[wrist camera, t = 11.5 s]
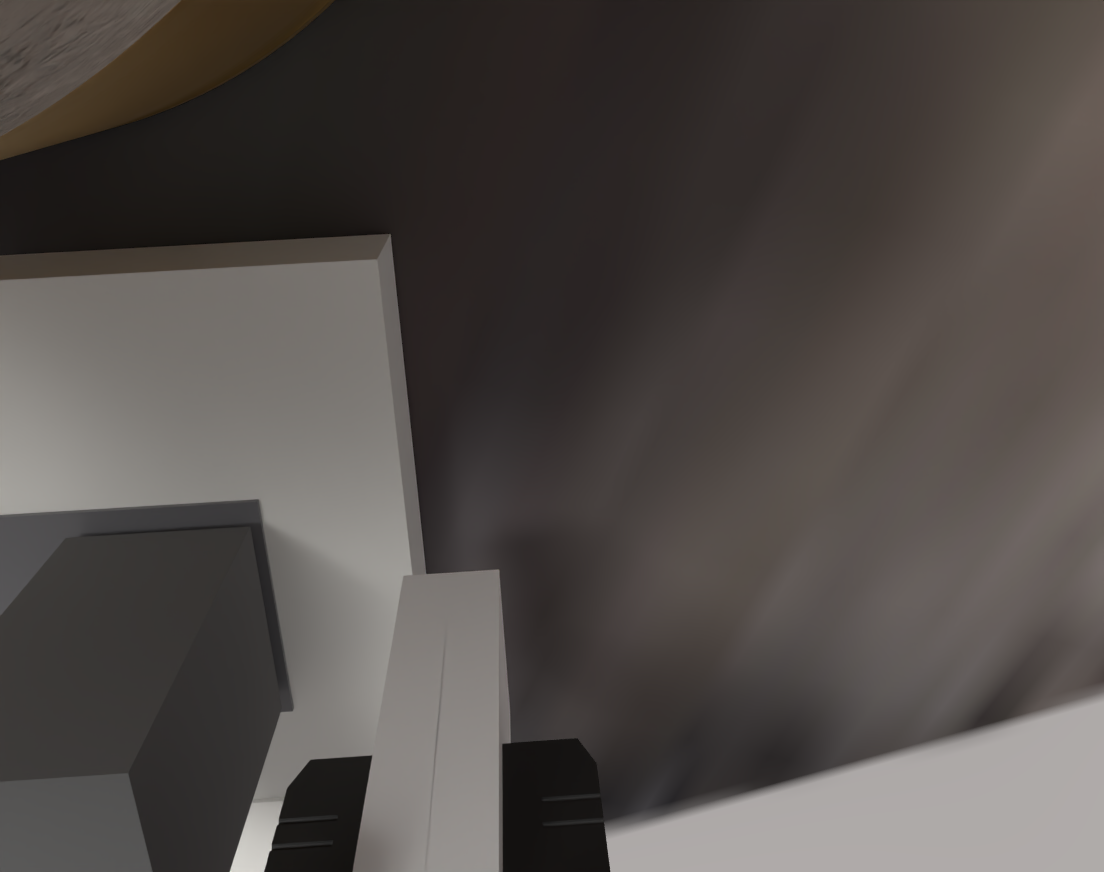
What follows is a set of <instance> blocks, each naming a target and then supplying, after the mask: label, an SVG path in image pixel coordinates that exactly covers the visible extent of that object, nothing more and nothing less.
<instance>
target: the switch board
mask: <svg viewBox="0 0 1104 872" xmlns="http://www.w3.org/2000/svg"><path fill="white" fill-rule="evenodd" d="M235 527H250V528H251V534H252V539H253V545H254V551H255V556H256V562H257V568H258V574H259V579H260V585H261V591H262V597H263V602H264V608H265V614H266V619H267V625H268V631H269V637H270V642H271V648H272V654H273V660H274V665H275V671H276V677H277V682H278V688H279V694H280V700H281V705H282V710H281V713H280V716H279V719H278V722H277V725H276V729H275V732H274V735H273V738H272V741H271V744H270V747H269V750H268V754H267V757H266V760H265V763H264V766H263V769H262V772H261V775H260V779H259V782H258V785H257V788H256V791H255V794H254V797H253V800H252V804H251V807H250V810H249V813H248V816H247V819H246V822H245V825H244V829H243V832H242V835H241V838H240V841H239V844H238V847H237V851H236V854H235V857H234V860H233V863H232V866H231V869H230V872H264V870H265V867H266V863H267V859H268V856H269V852H270V851H271V850H272V841H273V837H274V834H275V830H276V827H277V825H279V816H280V812H281V808H282V805H283V801H284V797H285V794H286V790H287V787H288V786H289V785H290V784H291V783H292V781H293V780H294V779H295V778H296V777H297V775H298V774H299V773H300V772H301V770H302V769H303V768H304V767H305V766H306V764H307V763H308V762H309V761H310V760H313V759H327V758H341V757H355V756H370V755H373V750H374V744H375V738H376V732H377V726H378V720H379V715H380V709H381V703H382V697H383V691H384V686H385V680H386V674H387V668H388V662H389V656H390V651H391V645H392V639H393V633H394V627H395V622H396V616H397V610H398V604H399V598H400V592H401V587H402V581H403V576H407V575H423V574H426V566H425V557H424V547H423V538H422V528H421V519H420V509H419V500H418V490H417V481H416V471H415V462H414V452H413V443H412V433H411V424H410V414H409V405H408V396H407V386H406V377H405V367H404V358H403V348H402V339H401V329H400V320H399V310H398V301H397V291H396V282H395V272H394V263H393V253H392V244H391V234H379V235H361V236H343V237H325V238H307V239H289V240H271V241H253V242H235V243H217V244H199V245H181V246H162V247H144V248H126V249H108V250H90V251H72V252H54V253H36V254H18V255H0V616H1V614H2V613H3V612H4V611H5V610H6V609H7V607H8V606H9V605H10V604H11V603H12V601H13V600H14V599H15V598H16V597H17V595H18V594H19V593H20V592H21V591H22V589H23V588H24V587H25V586H26V585H27V583H28V582H29V581H30V580H31V579H32V578H33V576H34V575H35V574H36V573H37V572H38V570H39V569H40V568H41V567H42V566H43V564H44V563H45V562H46V561H47V560H48V558H49V557H50V556H51V555H52V554H53V552H54V551H55V550H56V549H57V548H58V546H59V545H60V544H61V543H62V542H63V541H64V539H65V538H72V537H88V536H104V535H121V534H137V533H153V532H170V531H186V530H202V529H218V528H235Z"/></svg>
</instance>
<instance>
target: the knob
mask: <svg viewBox="0 0 1104 872" xmlns="http://www.w3.org/2000/svg"><path fill="white" fill-rule="evenodd" d="M281 710H282V705H281V700H280V694H279V688H278V682H277V677H276V671H275V665H274V660H273V654H272V648H271V642H270V637H269V631H268V625H267V619H266V614H265V608H264V602H263V597H262V591H261V585H260V579H259V574H258V568H257V562H256V556H255V551H254V545H253V539H252V534H251V528H250V527H235V528H218V529H202V530H186V531H170V532H153V533H137V534H121V535H104V536H88V537H72V538H65V539H64V541H63V542H62V543H61V544H60V545H59V546H58V548H57V549H56V550H55V551H54V552H53V554H52V555H51V556H50V557H49V558H48V560H47V561H46V562H45V563H44V564H43V566H42V567H41V568H40V569H39V570H38V572H37V573H36V574H35V575H34V576H33V578H32V579H31V580H30V581H29V582H28V583H27V585H26V586H25V587H24V588H23V589H22V591H21V592H20V593H19V594H18V595H17V597H16V598H15V599H14V600H13V601H12V603H11V604H10V605H9V606H8V607H7V609H6V610H5V611H4V612H3V613H2V614H1V616H0V872H230V869H231V866H232V863H233V860H234V857H235V854H236V851H237V847H238V844H239V841H240V838H241V835H242V832H243V829H244V825H245V822H246V819H247V816H248V813H249V810H250V807H251V804H252V800H253V797H254V794H255V791H256V788H257V785H258V782H259V779H260V775H261V772H262V769H263V766H264V763H265V760H266V757H267V754H268V750H269V747H270V744H271V741H272V738H273V735H274V732H275V729H276V725H277V722H278V719H279V716H280V713H281Z"/></svg>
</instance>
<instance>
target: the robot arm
mask: <svg viewBox="0 0 1104 872" xmlns="http://www.w3.org/2000/svg"><path fill="white" fill-rule="evenodd" d="M264 872H610V866H609V858H608V850H607V842H606V835H605V827H604V820H603V811H602V804H601V798H600V788H599V780H598V773H597V765H596V762H595V761H594V760H593V758H592V757H591V756H590V754H589V753H588V752H587V750H586V749H585V748H584V747H583V745H582V744H581V743H580V741H579V740H578V739H577V738H575V739H561V740H547V741H533V742H518V743H511V729H510V703H509V690H508V678H507V665H506V652H505V639H504V626H503V613H502V600H501V587H500V574H499V569H498V570H483V571H468V572H453V573H438V574H423V575H407V576H403V581H402V587H401V592H400V598H399V604H398V610H397V616H396V622H395V627H394V633H393V639H392V645H391V651H390V656H389V662H388V668H387V674H386V680H385V686H384V691H383V697H382V703H381V709H380V715H379V720H378V726H377V732H376V738H375V744H374V750H373V755H370V756H355V757H341V758H327V759H313V760H310V761H309V762H308V763H307V764H306V766H305V767H304V768H303V769H302V770H301V772H300V773H299V774H298V775H297V777H296V778H295V779H294V780H293V781H292V783H291V784H290V785H289V786H288V787H287V790H286V794H285V797H284V801H283V805H282V808H281V812H280V816H279V825H277V827H276V830H275V834H274V837H273V841H272V850H271V851H270V852H269V856H268V859H267V863H266V867H265V870H264Z"/></svg>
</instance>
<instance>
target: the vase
mask: <svg viewBox="0 0 1104 872" xmlns="http://www.w3.org/2000/svg"><path fill="white" fill-rule="evenodd" d="M334 1H335V0H0V160H3V159H6V158H10V157H13V156H17V155H20V154H24V153H27V152H31V151H34V150H38V149H41V148H45V147H48V146H52V145H55V144H59V143H62V142H66V141H69V140H73V139H76V138H80V137H83V136H87V135H90V134H94V133H97V132H101V131H104V130H108V129H111V128H115V127H118V126H121V125H125V124H128V123H132V122H135V121H138V120H141V119H144V118H147V117H150V116H153V115H155V114H158V113H161V112H163V111H166V110H168V109H171V108H173V107H176V106H178V105H181V104H183V103H185V102H187V101H190V100H192V99H194V98H196V97H198V96H200V95H202V94H204V93H206V92H208V91H210V90H212V89H214V88H216V87H218V86H220V85H222V84H224V83H225V82H227V81H229V80H231V79H232V78H234V77H236V76H238V75H239V74H241V73H243V72H244V71H246V70H247V69H249V68H251V67H252V66H254V65H255V64H257V63H258V62H260V61H261V60H263V59H264V58H266V57H267V56H269V55H270V54H271V53H273V52H274V51H276V50H277V49H278V48H280V47H281V46H282V45H284V44H285V43H286V42H288V41H289V40H290V39H292V38H293V37H294V36H295V35H297V34H298V33H299V32H300V31H302V30H303V29H304V28H305V27H306V26H308V25H309V24H310V23H311V22H312V21H313V20H314V19H316V18H317V17H318V16H319V15H320V14H321V13H322V12H323V11H324V10H326V9H327V8H328V7H329V6H330V5H331V4H332V3H333V2H334Z"/></svg>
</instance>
